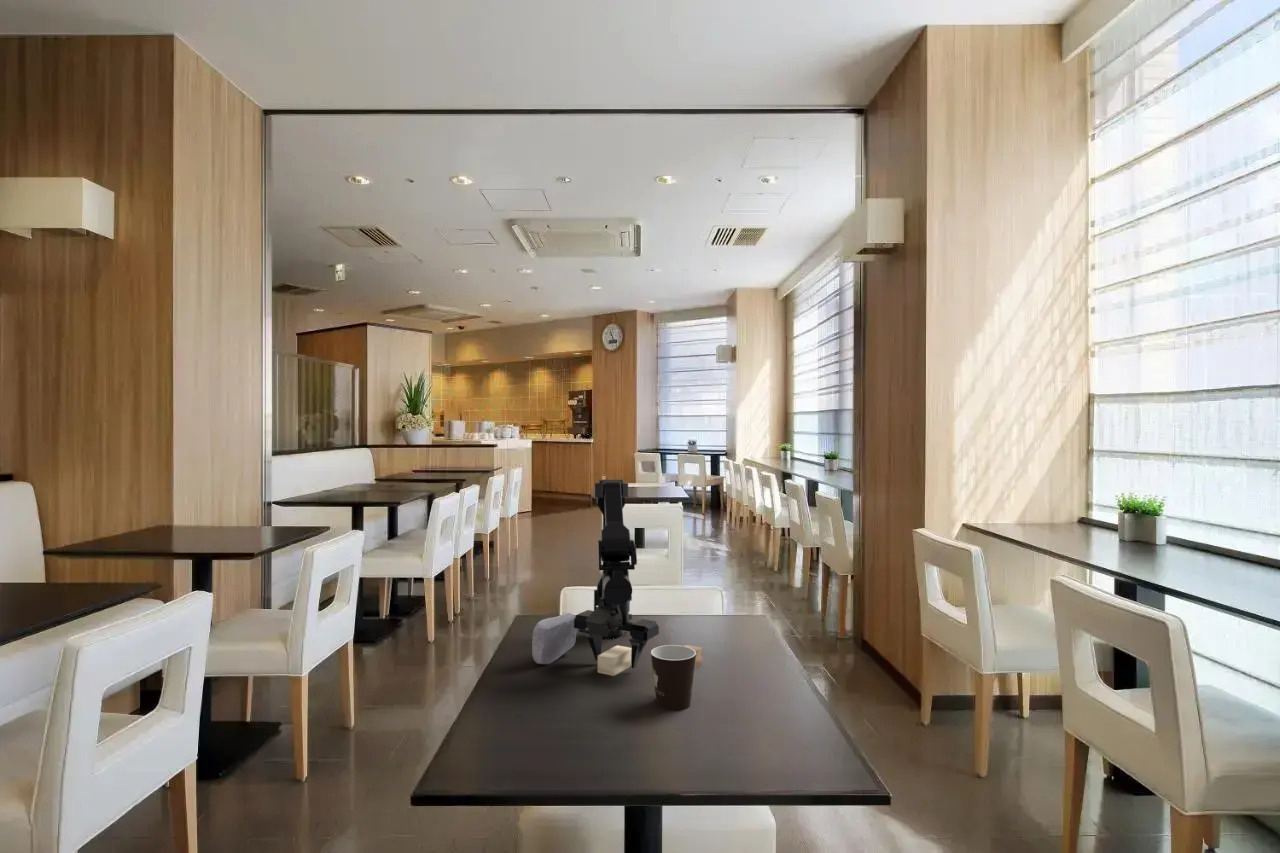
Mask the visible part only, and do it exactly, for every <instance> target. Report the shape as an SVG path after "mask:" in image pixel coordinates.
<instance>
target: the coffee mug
mask: <svg viewBox="0 0 1280 853" xmlns="http://www.w3.org/2000/svg"><path fill="white" fill-rule="evenodd" d="M650 656H651V666H652V676H653V685H654V693H655V702H656V706H658V708H660V709H663V710H666V711H673V712H676V711H677V712H678V711H684V710H687V709H689V708H690V706H691V701H692V694H693V693H692V692H693V683H694V675H695V670H694V668H695V659H696V651H695V650H694V649H692V648H689V647H686V646H685V645H679V644H669V645H668V644H666V645H660V646H657V647H654V648H652V649H651V651H650Z"/></svg>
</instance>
